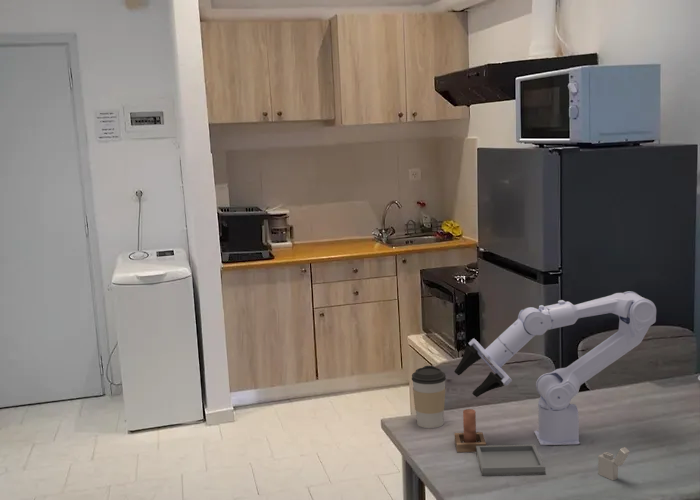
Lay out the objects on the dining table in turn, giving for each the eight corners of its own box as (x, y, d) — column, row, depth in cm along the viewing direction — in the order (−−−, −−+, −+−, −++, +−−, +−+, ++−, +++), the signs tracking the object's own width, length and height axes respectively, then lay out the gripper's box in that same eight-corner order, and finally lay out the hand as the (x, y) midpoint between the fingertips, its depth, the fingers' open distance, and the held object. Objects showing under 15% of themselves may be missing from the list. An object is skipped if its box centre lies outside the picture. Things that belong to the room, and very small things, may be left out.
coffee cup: (445, 430, 191) (444, 375, 188) (411, 429, 193) (409, 374, 190) (448, 417, 200) (446, 364, 197) (415, 416, 201) (413, 363, 199)
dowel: (475, 443, 182) (474, 408, 181) (476, 448, 179) (476, 413, 178) (463, 443, 182) (462, 409, 181) (464, 448, 179) (463, 413, 178)
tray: (534, 451, 176) (534, 444, 176) (545, 474, 164) (545, 466, 164) (476, 452, 177) (476, 445, 176) (482, 475, 165) (482, 468, 165)
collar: (482, 439, 184) (482, 432, 184) (486, 451, 177) (486, 443, 177) (454, 440, 184) (454, 432, 184) (457, 452, 178) (457, 444, 177)
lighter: (597, 473, 163) (597, 439, 162) (602, 471, 164) (603, 437, 163) (624, 485, 157) (624, 450, 156) (629, 483, 158) (630, 448, 157)
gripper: (481, 321, 180) (441, 359, 182) (518, 361, 171) (476, 400, 172) (492, 331, 186) (453, 367, 187) (528, 370, 176) (487, 408, 177)
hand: (465, 384), depth 180 cm, fingers open, 7 cm apart
